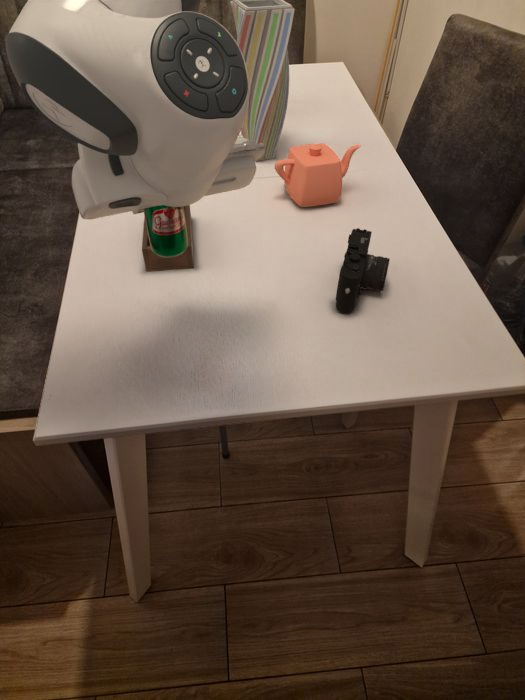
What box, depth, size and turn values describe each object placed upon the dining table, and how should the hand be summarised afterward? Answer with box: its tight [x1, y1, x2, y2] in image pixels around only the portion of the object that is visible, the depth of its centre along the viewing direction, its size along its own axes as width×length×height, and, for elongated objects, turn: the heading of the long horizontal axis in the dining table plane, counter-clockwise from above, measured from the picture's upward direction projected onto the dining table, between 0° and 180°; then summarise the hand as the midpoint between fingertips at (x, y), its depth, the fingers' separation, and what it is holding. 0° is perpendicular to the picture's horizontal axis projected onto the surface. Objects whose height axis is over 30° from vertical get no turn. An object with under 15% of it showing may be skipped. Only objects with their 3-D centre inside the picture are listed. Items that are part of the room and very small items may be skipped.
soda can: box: [143, 205, 188, 258], centre depth 61 cm, size 5×5×12 cm
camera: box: [335, 227, 390, 315], centre depth 77 cm, size 14×7×8 cm, turn 164°
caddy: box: [141, 204, 195, 272], centre depth 87 cm, size 8×15×4 cm, turn 7°
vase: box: [230, 0, 295, 162], centre depth 104 cm, size 14×14×30 cm
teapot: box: [274, 142, 362, 208], centre depth 98 cm, size 12×18×10 cm, turn 106°
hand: (161, 202), depth 61 cm, fingers closed on soda can, 5 cm apart
